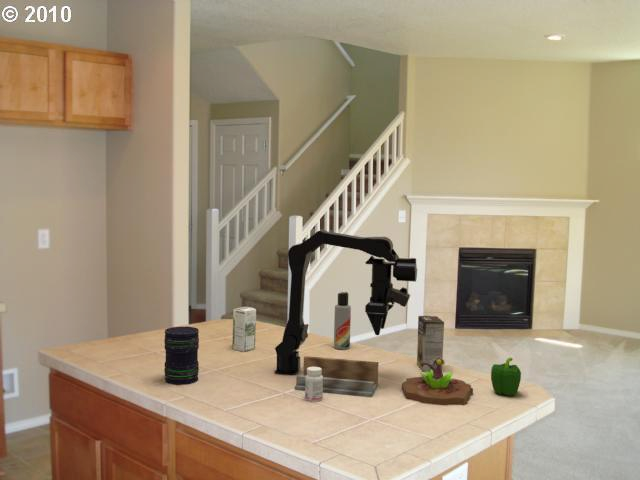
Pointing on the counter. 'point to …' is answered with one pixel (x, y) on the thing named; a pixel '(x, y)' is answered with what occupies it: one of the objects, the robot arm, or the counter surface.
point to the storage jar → (181, 355)
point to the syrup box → (244, 329)
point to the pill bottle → (314, 384)
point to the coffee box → (430, 341)
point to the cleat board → (343, 376)
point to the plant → (437, 387)
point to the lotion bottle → (342, 322)
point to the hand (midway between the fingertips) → (379, 331)
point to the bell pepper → (505, 378)
